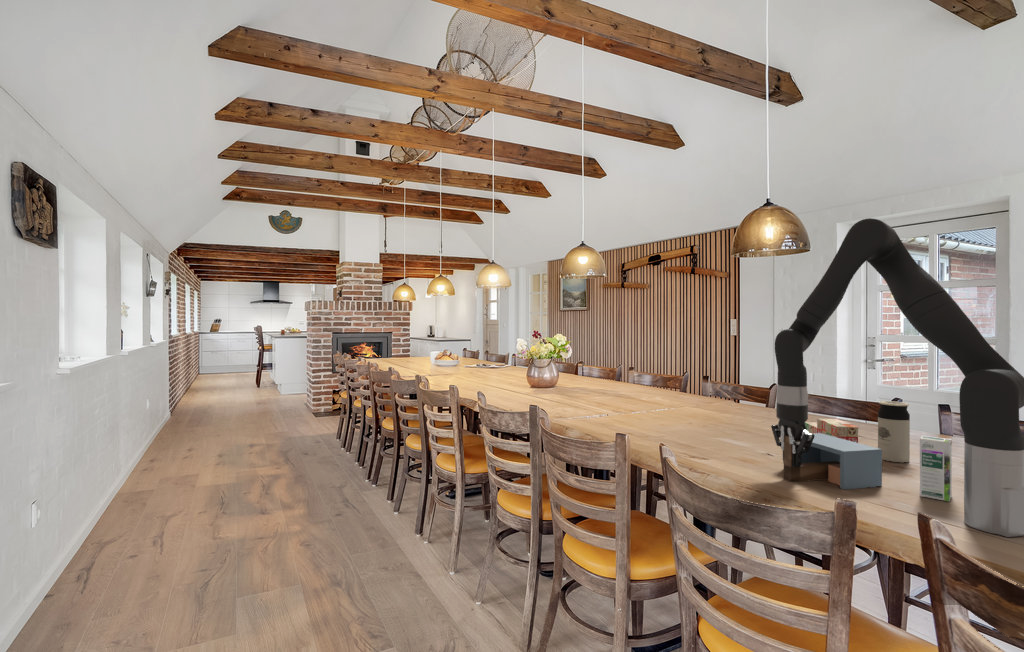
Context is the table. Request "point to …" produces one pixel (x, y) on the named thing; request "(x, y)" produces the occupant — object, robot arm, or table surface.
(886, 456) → the travel mug
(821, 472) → the bent wooden plank
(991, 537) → the table surface
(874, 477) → the cubby
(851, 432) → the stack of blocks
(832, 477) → the cube
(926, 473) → the syrup box
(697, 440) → the table surface
